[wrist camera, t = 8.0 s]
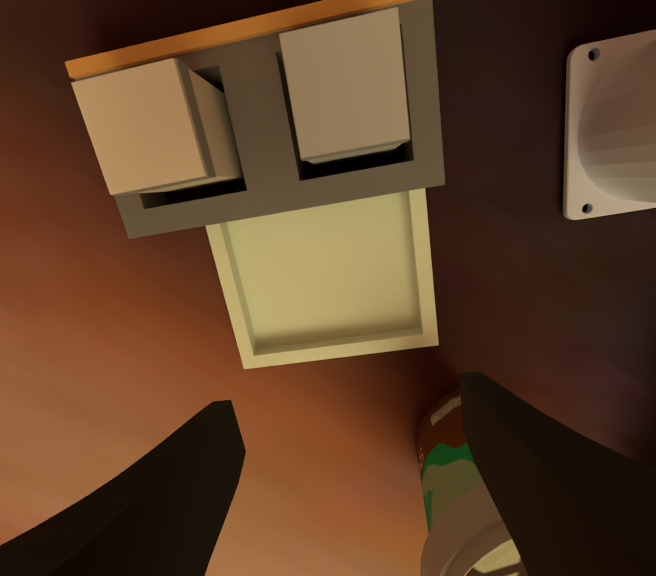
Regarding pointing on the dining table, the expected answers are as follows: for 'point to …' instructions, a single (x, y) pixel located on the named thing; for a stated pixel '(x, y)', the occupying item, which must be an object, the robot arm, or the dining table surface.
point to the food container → (459, 503)
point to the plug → (159, 129)
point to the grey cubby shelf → (282, 115)
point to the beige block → (347, 87)
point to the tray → (329, 280)
